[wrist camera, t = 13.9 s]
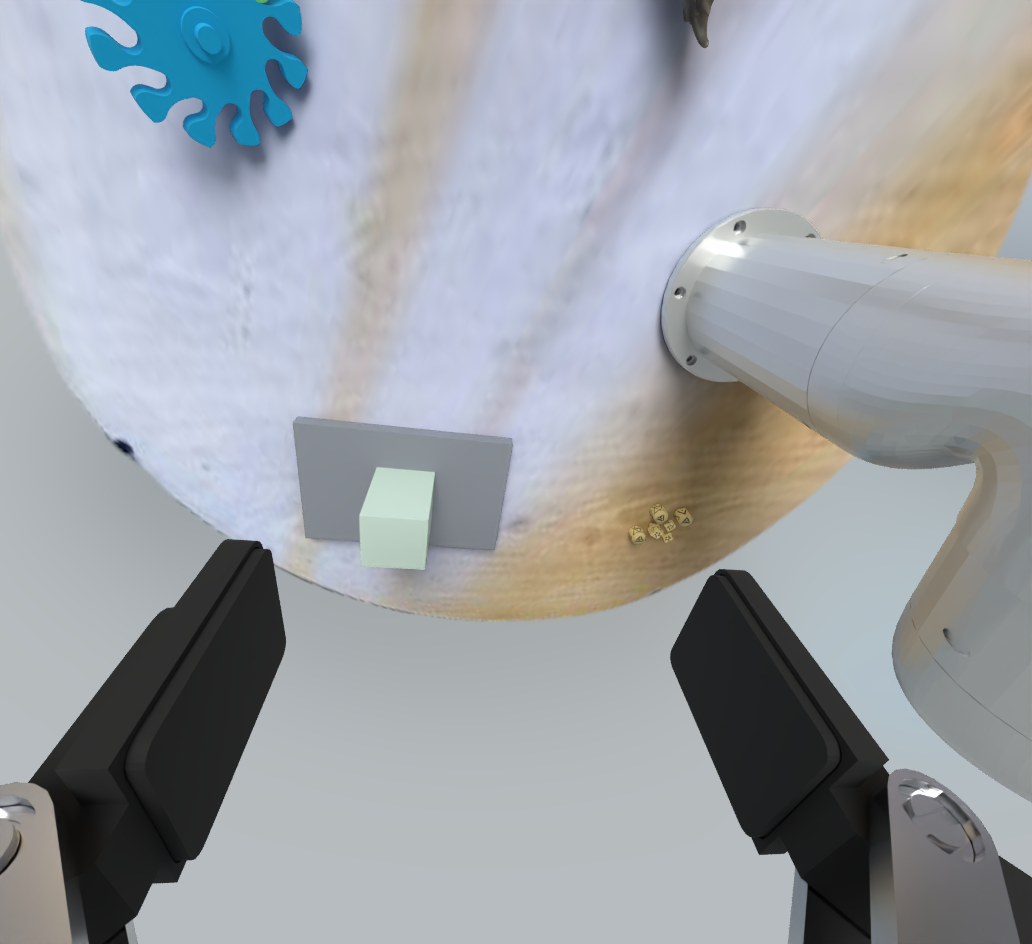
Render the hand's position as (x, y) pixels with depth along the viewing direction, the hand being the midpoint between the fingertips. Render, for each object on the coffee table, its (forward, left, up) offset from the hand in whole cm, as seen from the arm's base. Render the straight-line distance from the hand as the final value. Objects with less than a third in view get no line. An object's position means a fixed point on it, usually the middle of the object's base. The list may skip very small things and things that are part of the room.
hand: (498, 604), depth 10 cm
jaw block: (+5, +16, -27) cm, 32 cm away
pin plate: (+5, +16, -28) cm, 33 cm away
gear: (+15, -13, -29) cm, 35 cm away
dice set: (-21, +18, -29) cm, 40 cm away
